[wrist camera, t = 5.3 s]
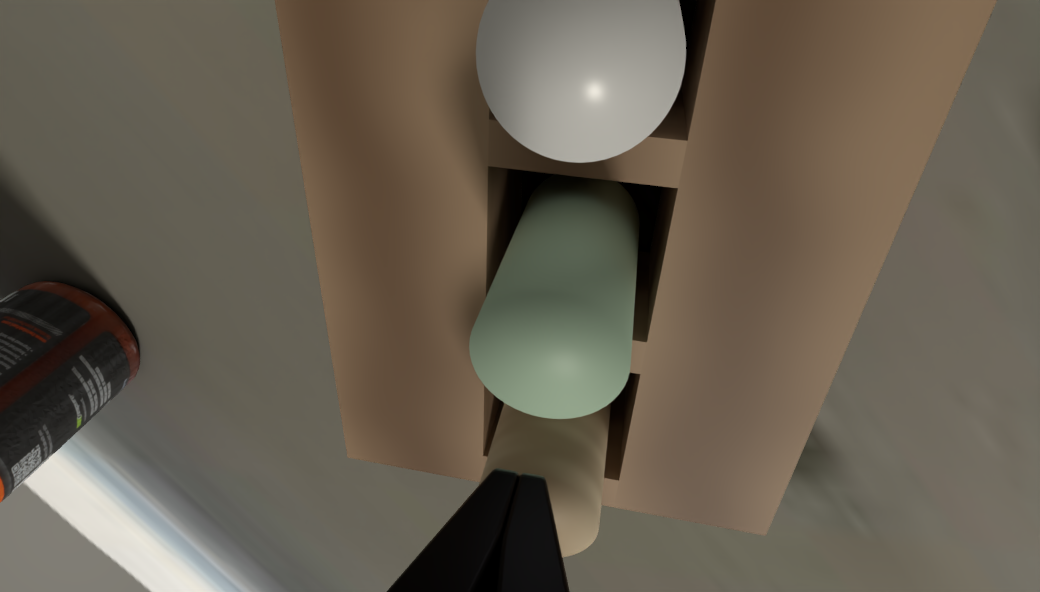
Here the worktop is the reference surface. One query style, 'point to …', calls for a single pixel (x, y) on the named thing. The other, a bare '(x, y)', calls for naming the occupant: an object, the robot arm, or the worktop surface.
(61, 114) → the worktop surface
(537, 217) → the plug green
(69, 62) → the worktop surface
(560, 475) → the plug beech
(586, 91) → the plug grey
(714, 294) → the wooden plug holder
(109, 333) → the supplement bottle
